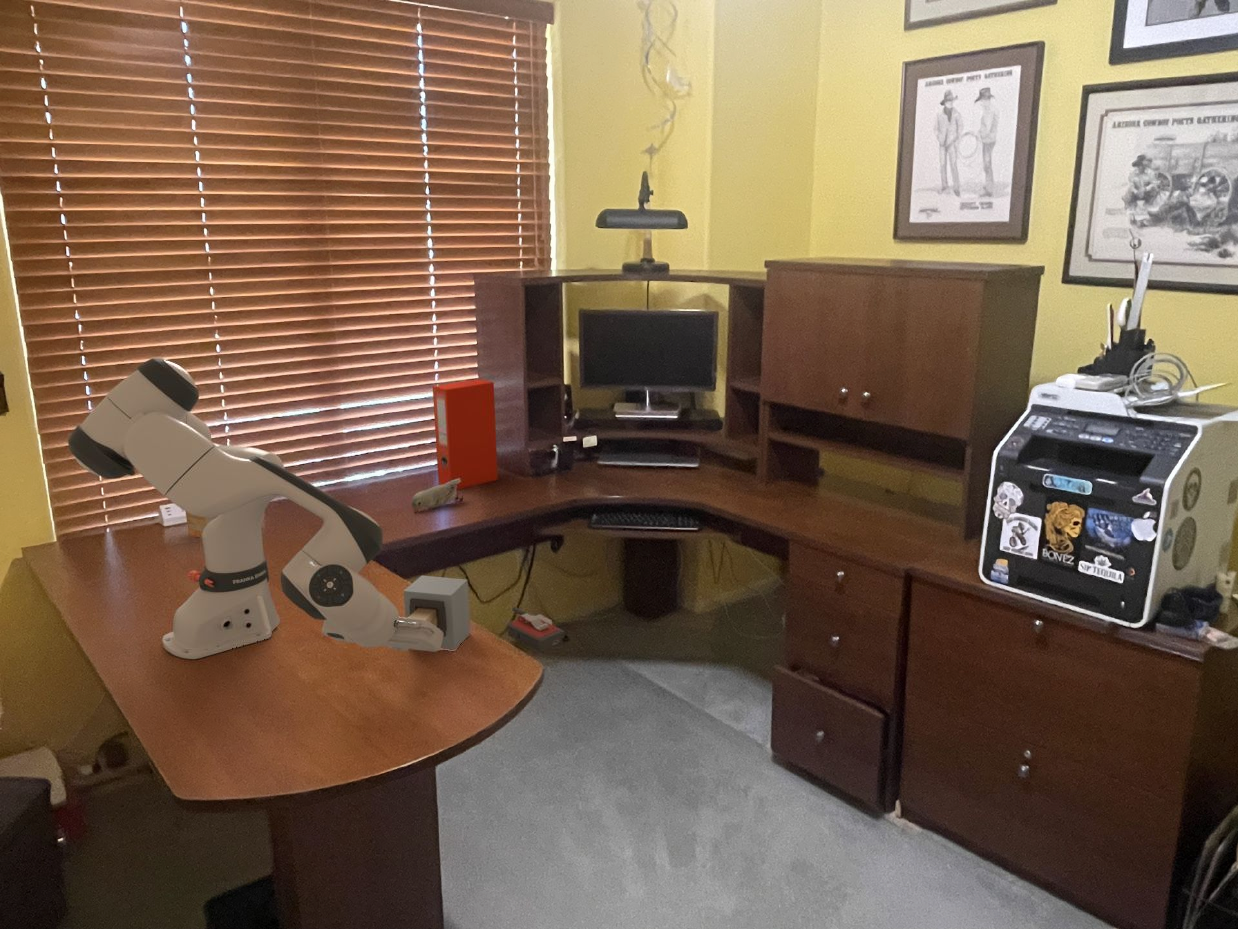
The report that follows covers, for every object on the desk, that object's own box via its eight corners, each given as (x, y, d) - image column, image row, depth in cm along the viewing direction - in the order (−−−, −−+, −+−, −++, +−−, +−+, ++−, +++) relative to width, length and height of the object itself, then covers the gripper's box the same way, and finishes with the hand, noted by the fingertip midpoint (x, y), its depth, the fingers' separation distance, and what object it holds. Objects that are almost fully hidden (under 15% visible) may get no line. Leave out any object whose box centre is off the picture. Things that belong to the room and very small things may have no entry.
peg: (417, 647, 169) (416, 628, 168) (399, 645, 170) (397, 626, 169) (449, 615, 183) (447, 598, 182) (431, 614, 183) (430, 596, 182)
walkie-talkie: (578, 642, 183) (517, 612, 197) (578, 622, 182) (516, 593, 196) (545, 656, 177) (484, 625, 191) (544, 636, 176) (483, 605, 190)
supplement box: (187, 535, 245) (180, 489, 242) (202, 530, 249) (196, 484, 246) (208, 540, 242) (201, 493, 238) (223, 534, 246) (217, 488, 242)
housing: (453, 653, 178) (449, 597, 175) (406, 648, 180) (401, 592, 177) (470, 634, 186) (467, 579, 183) (425, 629, 188) (421, 575, 185)
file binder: (498, 480, 293) (493, 382, 285) (452, 491, 282) (446, 389, 274) (484, 475, 299) (479, 379, 290) (438, 485, 288) (432, 386, 279)
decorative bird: (408, 511, 264) (406, 486, 262) (457, 500, 274) (455, 476, 272) (417, 515, 260) (415, 490, 258) (466, 504, 270) (465, 480, 268)
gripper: (432, 608, 155) (458, 635, 166) (324, 597, 159) (357, 624, 171) (422, 643, 152) (449, 669, 163) (312, 631, 156) (347, 657, 168)
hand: (401, 646), depth 167 cm, fingers closed
